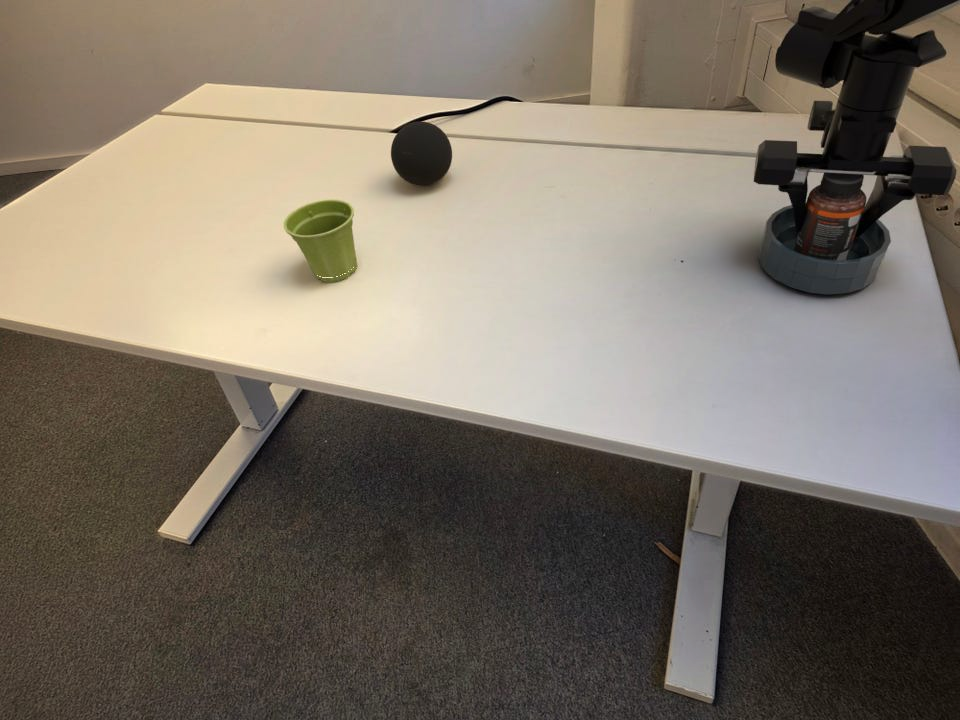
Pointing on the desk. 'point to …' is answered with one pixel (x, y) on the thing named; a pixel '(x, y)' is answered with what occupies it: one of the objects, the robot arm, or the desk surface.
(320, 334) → the desk surface
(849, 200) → the supplement bottle
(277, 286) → the desk surface
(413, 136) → the speaker
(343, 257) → the plant pot
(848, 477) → the desk surface
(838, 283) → the bowl
